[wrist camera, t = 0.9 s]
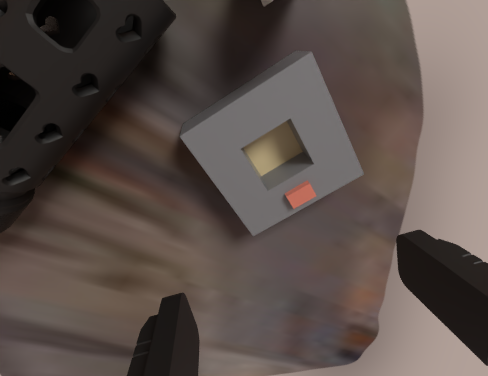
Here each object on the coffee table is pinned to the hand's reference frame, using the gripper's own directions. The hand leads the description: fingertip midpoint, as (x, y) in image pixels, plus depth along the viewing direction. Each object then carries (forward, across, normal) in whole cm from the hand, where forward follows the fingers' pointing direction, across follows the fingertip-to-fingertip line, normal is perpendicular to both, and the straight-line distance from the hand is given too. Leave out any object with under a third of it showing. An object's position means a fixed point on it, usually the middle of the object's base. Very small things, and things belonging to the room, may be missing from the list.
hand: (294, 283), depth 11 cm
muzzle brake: (+24, +16, -11) cm, 31 cm away
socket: (+24, -4, -1) cm, 25 cm away
